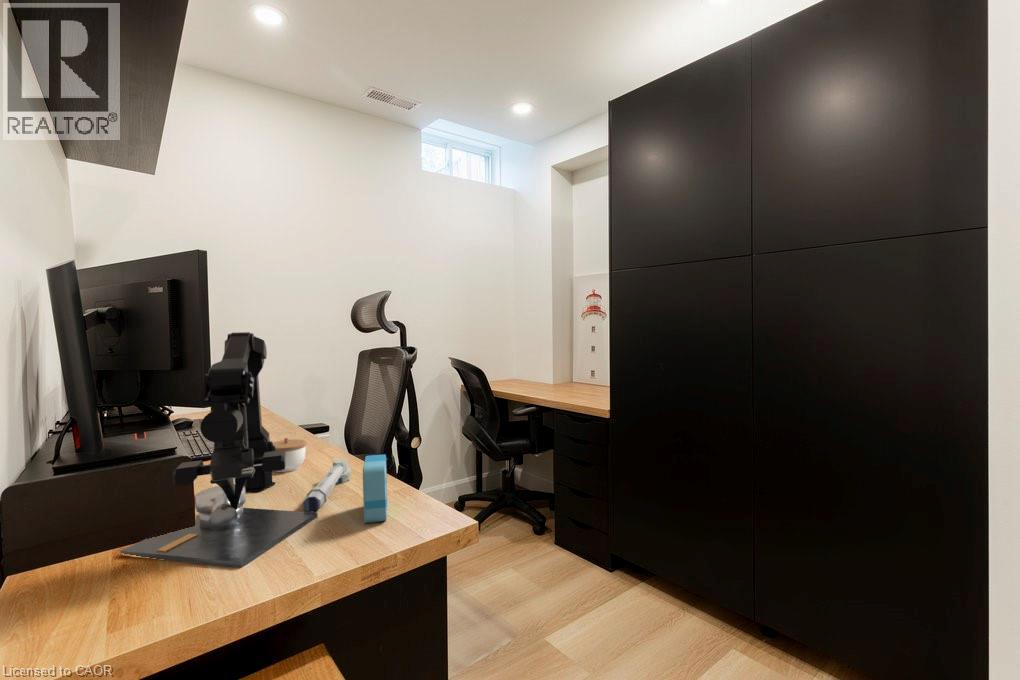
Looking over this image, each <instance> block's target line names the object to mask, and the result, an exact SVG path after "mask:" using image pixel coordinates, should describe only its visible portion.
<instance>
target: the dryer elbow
mask: <svg viewBox="0 0 1020 680" xmlns="http://www.w3.org/2000/svg"><path fill="white" fill-rule="evenodd" d="M234 488H235V483H234ZM246 500H247V499H246V491H245V486H244V487H243V490H242V494H241V497H240V501H239V504H238V507H240V506H242V505H243V506H244V505H245V503H246ZM195 511H196V512H197V513H198V514H199V513H203V514H210V517H209V525H210V527H211V528H212V529H213V530H215V531H218V532H223V531H227V530H229V529H230V528H232V527H233V526H234V525H235V523H236V521H237V517H238V516H237V512H236V510H235V509H234V508H233V507H232V506H231V504H230V502H229V500H228V498H227V496H226V494H225V493H224V491H223V490H222V488H221V487H220V486H219V485H216V486H212V487H209V488H205V489H203V490H201V491H199V492H198V493H196V494H195Z"/></svg>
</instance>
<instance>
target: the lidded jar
mask: <svg viewBox="0 0 1020 680" xmlns="http://www.w3.org/2000/svg"><path fill="white" fill-rule="evenodd" d="M272 442H273V445H274V446H275V449H276V451H280V450H283V451H284V452H285V453H286V466H285V469H283V470H279V471H275V472H276V473H289V472H294V471H297V470H298V469H299V467H300V466H301V465H302V464H303V462H304V460H305V458H306V451H307V441H306V440H305V439H299V438H298V439H295V438H294V439H291V438H290V439H289V437H284V439H282V440H277V441H272Z"/></svg>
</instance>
